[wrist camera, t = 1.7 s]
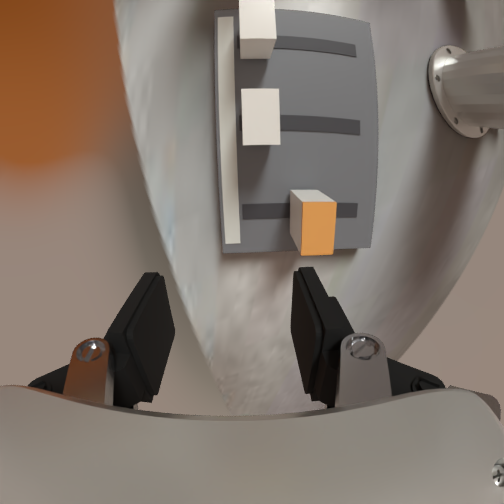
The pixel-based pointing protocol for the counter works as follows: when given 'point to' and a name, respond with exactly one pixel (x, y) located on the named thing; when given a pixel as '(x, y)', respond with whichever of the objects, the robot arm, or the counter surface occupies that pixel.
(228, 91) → the panel
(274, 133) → the handle mid
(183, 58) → the counter surface
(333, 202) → the handle
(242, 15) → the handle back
